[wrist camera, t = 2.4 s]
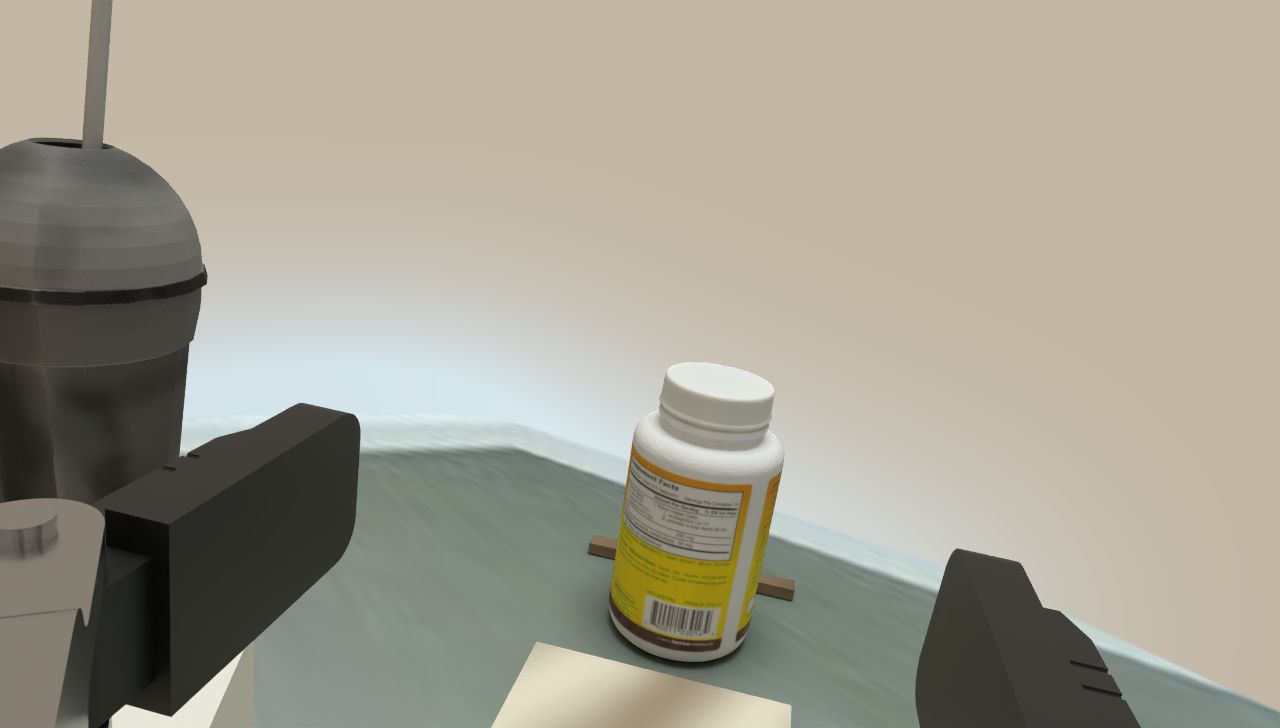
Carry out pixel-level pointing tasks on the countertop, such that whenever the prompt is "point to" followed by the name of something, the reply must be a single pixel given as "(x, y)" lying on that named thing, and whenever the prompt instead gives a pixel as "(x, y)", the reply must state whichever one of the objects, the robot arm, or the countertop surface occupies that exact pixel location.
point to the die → (206, 702)
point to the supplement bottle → (696, 514)
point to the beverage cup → (91, 308)
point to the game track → (630, 688)
